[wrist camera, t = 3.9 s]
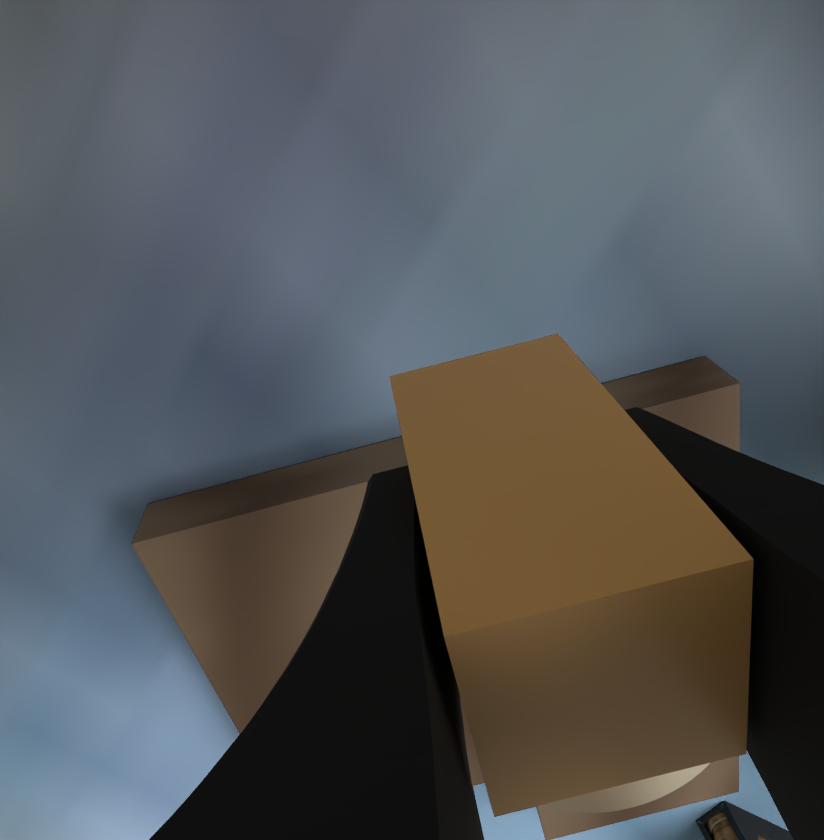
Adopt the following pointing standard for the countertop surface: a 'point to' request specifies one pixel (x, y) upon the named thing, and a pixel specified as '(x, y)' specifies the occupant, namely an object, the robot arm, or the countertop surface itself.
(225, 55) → the countertop surface
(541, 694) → the block
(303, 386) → the countertop surface
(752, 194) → the countertop surface
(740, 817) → the ammunition clip
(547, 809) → the notched board
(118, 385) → the countertop surface
